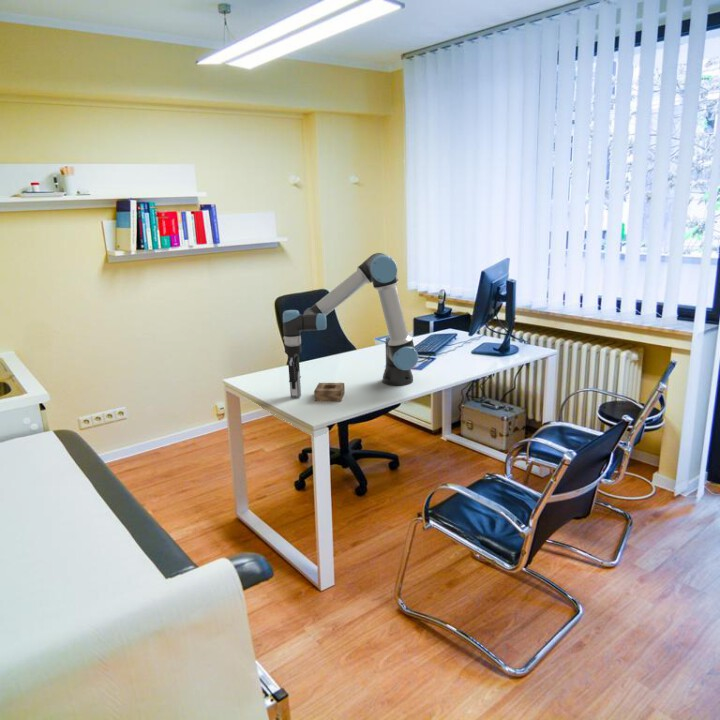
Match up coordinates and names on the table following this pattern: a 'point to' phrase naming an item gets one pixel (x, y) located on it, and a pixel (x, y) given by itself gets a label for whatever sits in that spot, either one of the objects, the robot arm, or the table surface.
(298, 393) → the metal peg
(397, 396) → the table surface
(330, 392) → the brown square hole block
